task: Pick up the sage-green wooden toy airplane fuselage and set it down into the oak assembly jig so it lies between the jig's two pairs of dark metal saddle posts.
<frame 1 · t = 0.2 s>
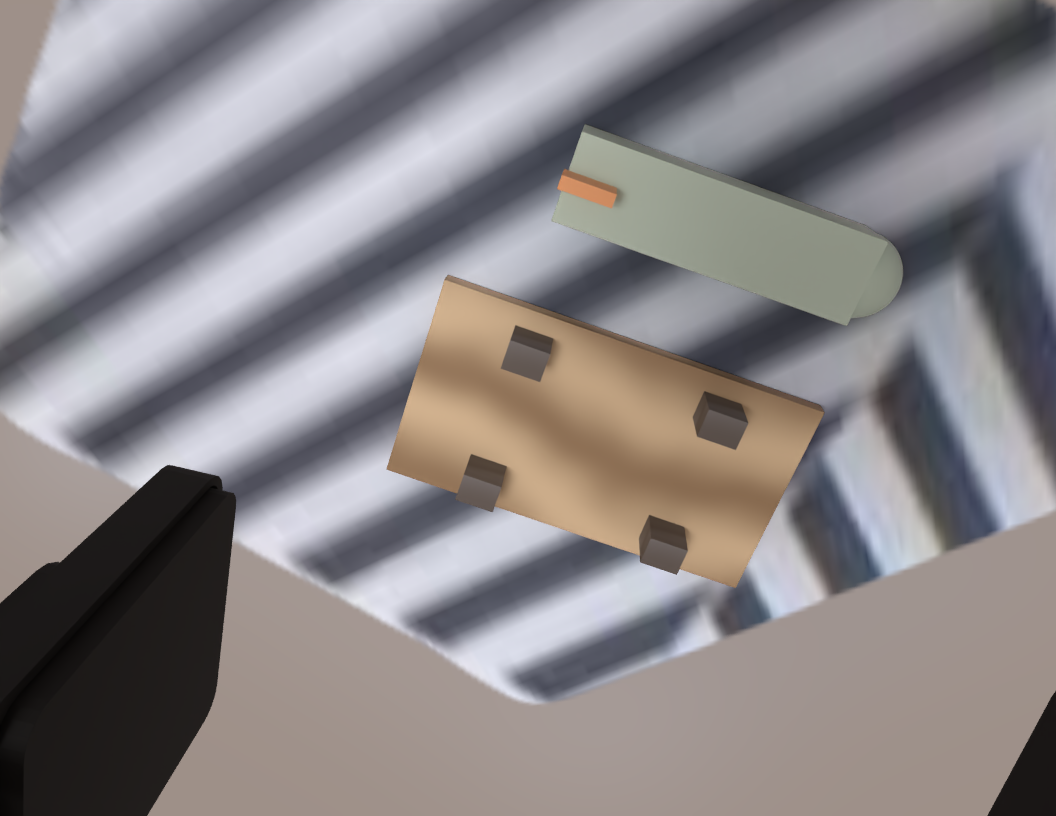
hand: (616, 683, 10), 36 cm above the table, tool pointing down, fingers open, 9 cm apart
fuselage: (708, 215, 43), on the table
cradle: (598, 434, 48), on the table
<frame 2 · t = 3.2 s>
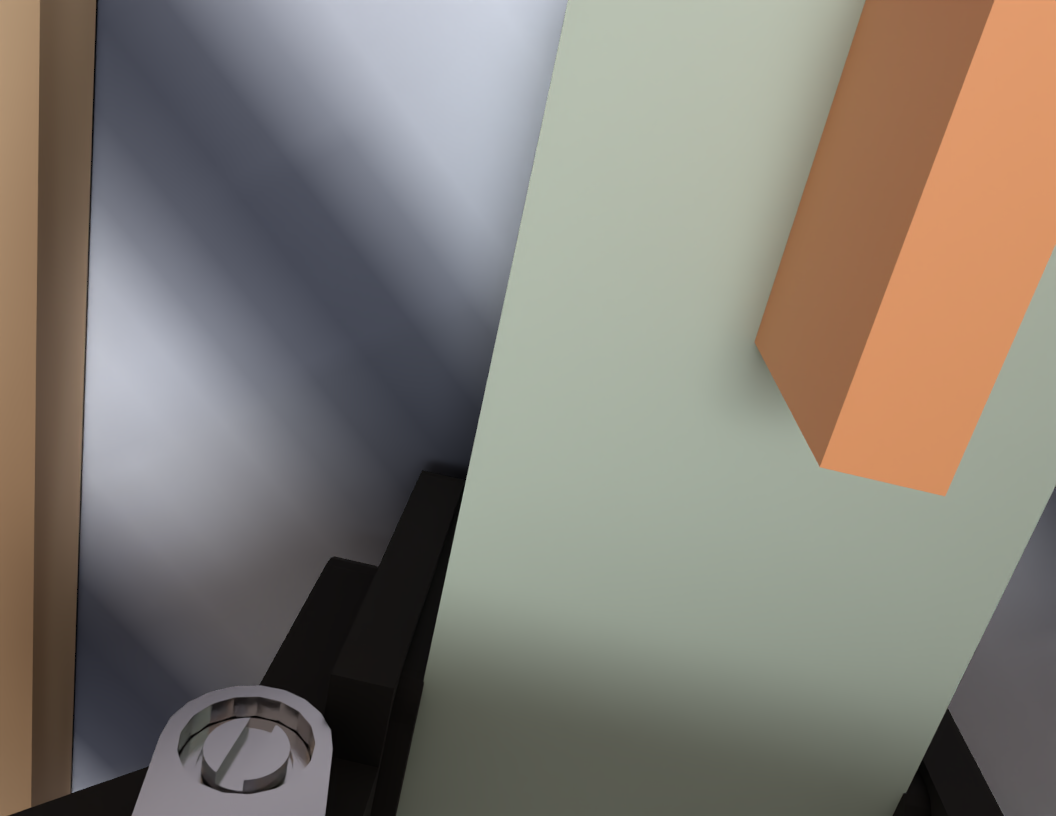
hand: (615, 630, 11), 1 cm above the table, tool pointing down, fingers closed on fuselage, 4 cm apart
fuselage: (615, 606, 12), on the table, touching gripper
when the fingers open (3 cm above the table, at t = 8.8 s): fuselage drops 2 cm, resting on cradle.
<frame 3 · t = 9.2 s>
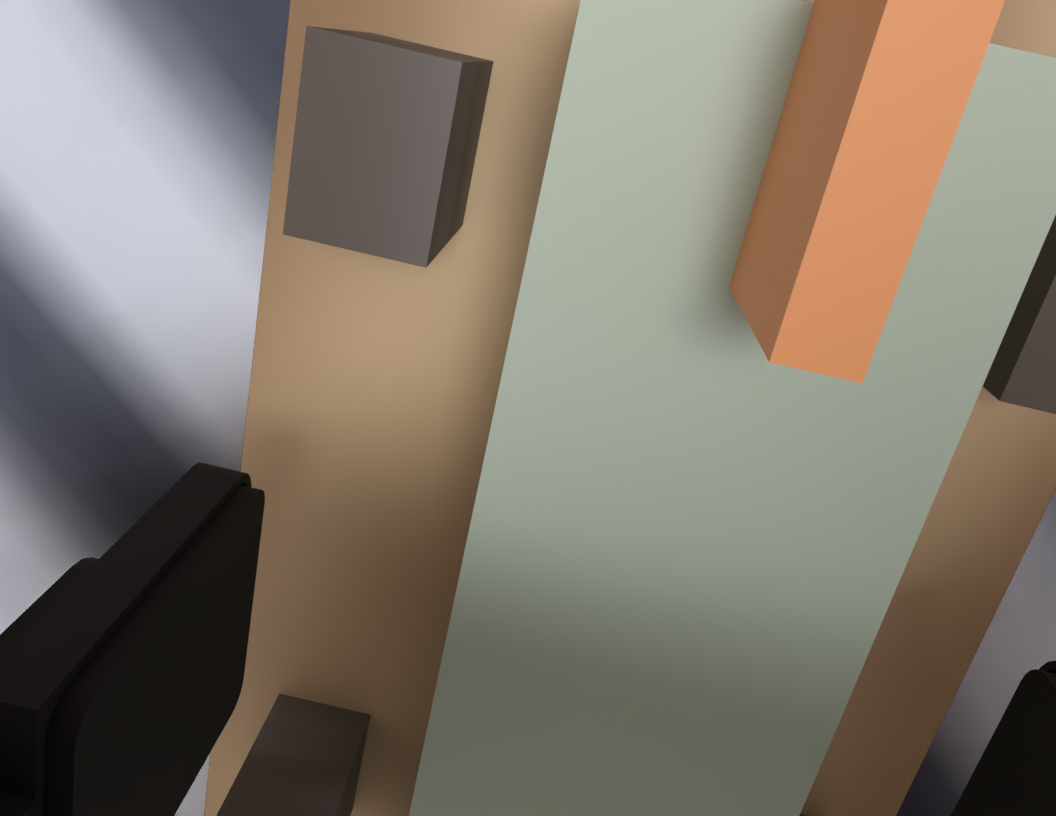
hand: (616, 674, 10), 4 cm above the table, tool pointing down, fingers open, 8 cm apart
fuselage: (618, 544, 13), point 1 cm above the table, touching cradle
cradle: (614, 512, 14), on the table
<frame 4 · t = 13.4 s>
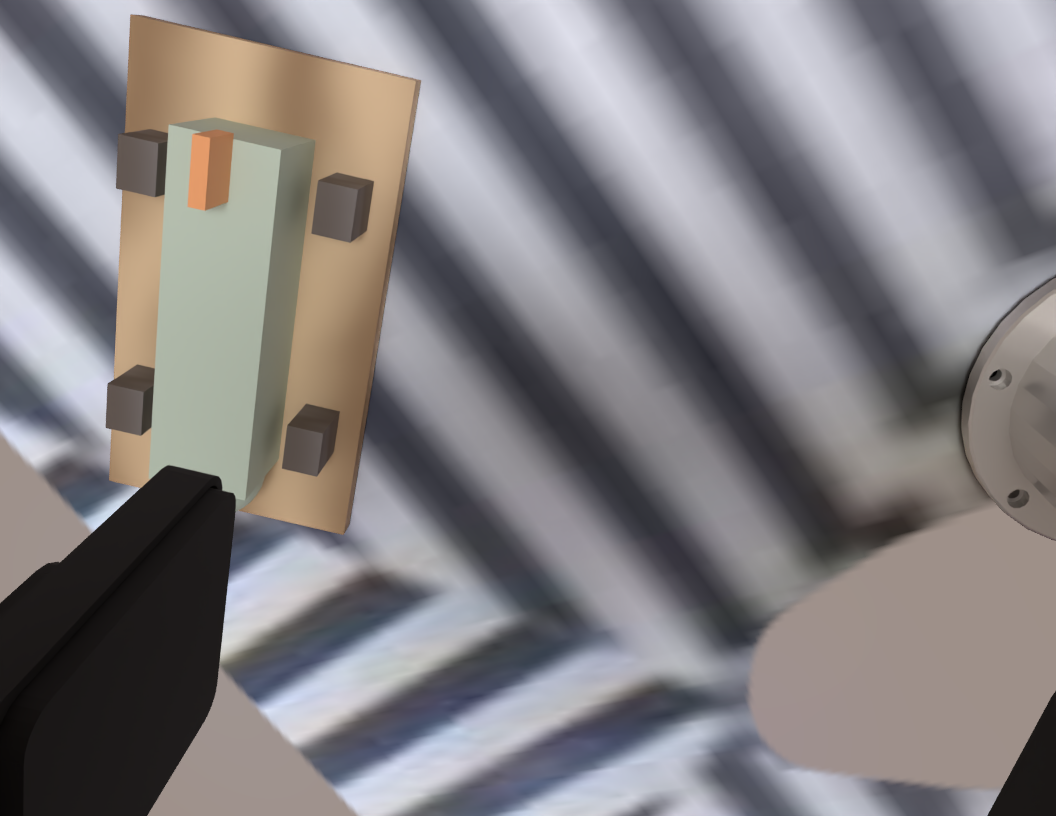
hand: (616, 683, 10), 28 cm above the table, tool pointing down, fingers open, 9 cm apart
fuselage: (249, 300, 38), point 1 cm above the table, touching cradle
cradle: (256, 294, 39), on the table
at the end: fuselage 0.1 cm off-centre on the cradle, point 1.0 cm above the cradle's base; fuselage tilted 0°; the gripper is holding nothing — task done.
